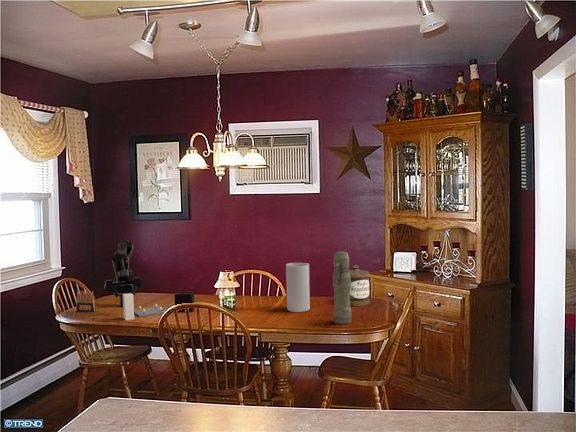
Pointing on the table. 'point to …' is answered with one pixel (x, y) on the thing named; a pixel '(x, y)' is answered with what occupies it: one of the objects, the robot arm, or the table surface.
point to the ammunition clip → (85, 302)
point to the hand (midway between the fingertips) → (125, 296)
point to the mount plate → (149, 311)
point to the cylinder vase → (297, 287)
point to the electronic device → (184, 300)
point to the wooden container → (359, 287)
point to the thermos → (341, 289)
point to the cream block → (128, 306)
